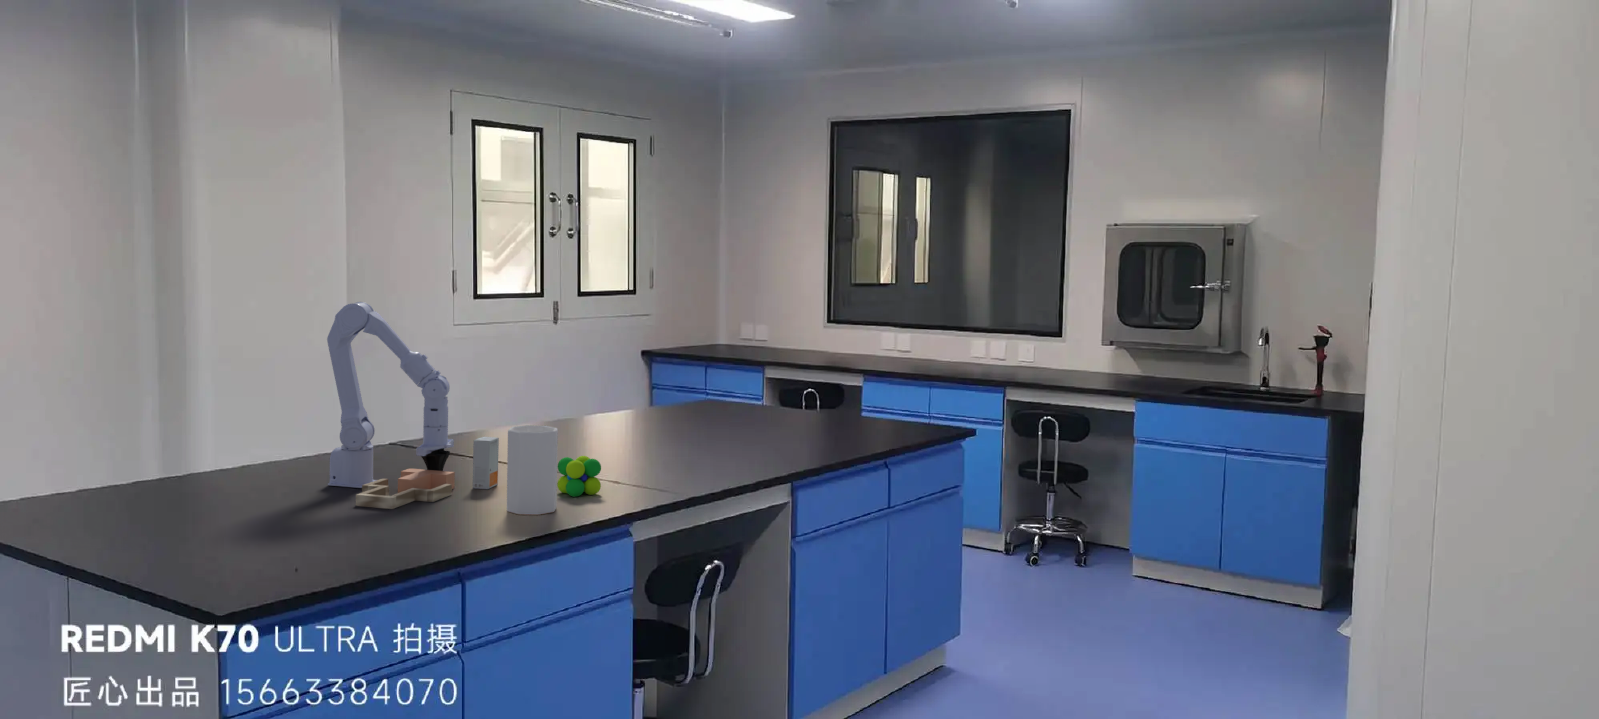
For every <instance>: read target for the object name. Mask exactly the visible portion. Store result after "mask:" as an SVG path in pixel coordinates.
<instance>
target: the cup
mask: <svg viewBox="0 0 1599 719" xmlns="http://www.w3.org/2000/svg"><path fill="white" fill-rule="evenodd" d="M558 431H559V429H558V427H554V426H549V425H539V424H538V425H535V424H534V425H531V424H530V425H529V424H526V425H517V426H511V427H510V428H509V429H508V430H507V459H506V460H507V464H506V465H507V466H506V467H507V468H506V470H507V471H506V472H507V473H506V475H507V476H506V478H507V479H506V511H507V512H508V513H511V514H515V515H518V516H540V515H541V514H542V515H547V514H552V513H554V512H555V511H556V509H557V498H558V496H557V495H558V493H557V491H558V486H557V483H558V444H559V442H558V441H559V440H558V438H559V436H558V434H559V432H558ZM542 515H541V516H542Z"/></svg>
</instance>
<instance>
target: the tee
mask: <svg viewBox="0 0 1599 719" xmlns="http://www.w3.org/2000/svg"><path fill="white" fill-rule="evenodd" d="M455 480H456V472H455V471H445V470H443V471H436V470H427V469H422V468H410V467H409V468H406V469H404V470H401V471H400V477H399V478H397V493H400V492H403V491H406V490H408V489H411V488H419V489H433V488H436V487H438V486H441V485H444V484H452V490H453V489H455V486H456V484H455Z"/></svg>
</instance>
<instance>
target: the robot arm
mask: <svg viewBox="0 0 1599 719" xmlns="http://www.w3.org/2000/svg"><path fill="white" fill-rule="evenodd" d="M361 331H362V332H363V333H366V334H370V335H373V336H376V337H378V338H379V340H380V341H381V342H382V343H384V345H386V347H387V348H388V349H389V350H390V351H391V352H392V353H393V354H394V355H395V356H397V358H398V359H399V360H400V364H399V365H400V366H399V368H400V369H401V370H402V371H403V372H404V373H405V374H406V375H407V377H408V378H410V380H411V381H412V382H413V383H414V384H415V386H417V387H418V388H421V394H422V397H423V398H424V403H423V404H424V406H423V429H422V434H423V438H422V439H423V440H422V441H423V442H422V444H420V445H419V446H418V447H416V449H415V450H416V457H417V456H418V457H421V459H422V460H423V462H424V464H425V467H426V470H436V471H444V467H445V464H446V462H447V459H448V458H449V456H450V454H451V451H450V450H445V449H448V448H450V449H451V448H454V445H455V441H454V440H455V439H453V438H449V427H448V426H449V406H448V403H449V400H448V396H447V395H448V394H449V392H450V382H449V381H448V379H447V377H445V376H444V375H441V371H440V370H436V369H435V368H434V367H433V365H431V363H430V362H429V361H428V358H429V357H428V356H427V355H426V354H425V353H424V354H421V352H420V351H412V350H411V349H410V348H409V347H408V345H407V344H406V343H405V342H404V340H402V339H401V337H400V336H399V335H398V334H397V332H396V331H395V330H394V329H393V328H392V327H391V325H390V324H389V323H388V322H387V321H386V319H385V318H384V317H383V316H382V315H381V314H380V313H379V312H378V311H376V310H374V309H373V307H372V306H371V304H369V303H367V302H365V301H357V302H354V303H353V302H351V303H348V304H346V305H344V306H343V307H342V308H341V309H340V310H339V311H337V313H336V314H335V316H334V321H333V322H332V326H331V328H330V330H329V333H328V335H327V337H326V340H327V347H328V351H329V356H330V360H331V366H332V370H333V375H334V380H335V385H336V391H337V394H338V400H339V405H340V409H341V414H340V415H341V416H340V425H341V429H340V432H339V440H340V443H341V444H342V445H341V446H339V447H338V446H337V447H335V448H334V449H333V450H332V451H331V453H330V457H329V483H327V486H331V487H332V486H335V487H343V488H355V489H356V488H357V489H362V485H364V484H367V483H370V482H373V481H376V480H377V479H374V445H373V443H372V441H371V440H372V439H373V438H374V435H375V431H376V429H375V427H374V424H373V422H371V420H370V419H369V415H368V412H367V410H366V408H365V407H364V402H363V399H362V394H361V388H360V384H359V379H358V374H357V369H356V364H355V359H354V355H353V349H352V344H351V343H352V342H353V340H355V338H356V336H358V335H359V333H360V332H361Z"/></svg>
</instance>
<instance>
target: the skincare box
mask: <svg viewBox="0 0 1599 719" xmlns="http://www.w3.org/2000/svg"><path fill="white" fill-rule="evenodd" d="M499 439H500V438H499V437H495V436H482V437H478V438H476V439H474V440H473V446H472V447H473V449H472V450H473V452H472V453H473V454H472V489H476V490H477V489H480V490H489V489H491V488H494V487H496V486H498V484H499V450H500V449H499V444H500V443H499V442H500V440H499Z"/></svg>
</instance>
